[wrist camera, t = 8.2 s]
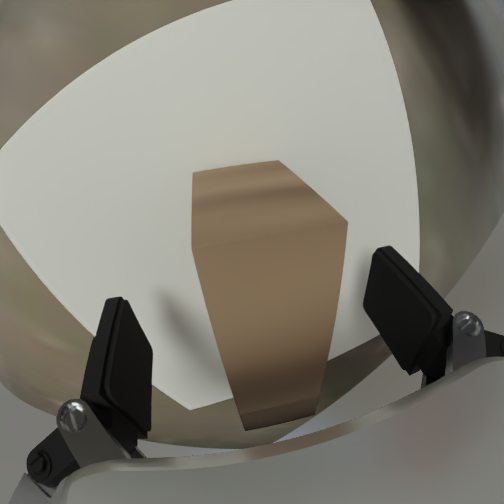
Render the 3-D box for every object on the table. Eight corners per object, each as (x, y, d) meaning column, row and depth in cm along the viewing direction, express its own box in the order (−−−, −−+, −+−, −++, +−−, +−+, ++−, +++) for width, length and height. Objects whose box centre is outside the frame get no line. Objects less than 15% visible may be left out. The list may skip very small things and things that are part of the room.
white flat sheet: (343, -10, 7) (362, -19, 6) (405, 300, 18) (416, 314, 17) (-8, 171, 8) (-26, 182, 7) (188, 393, 19) (189, 411, 18)
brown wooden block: (192, 172, 9) (191, 248, 5) (278, 160, 9) (348, 221, 5) (228, 344, 14) (245, 431, 10) (284, 333, 14) (314, 414, 10)
